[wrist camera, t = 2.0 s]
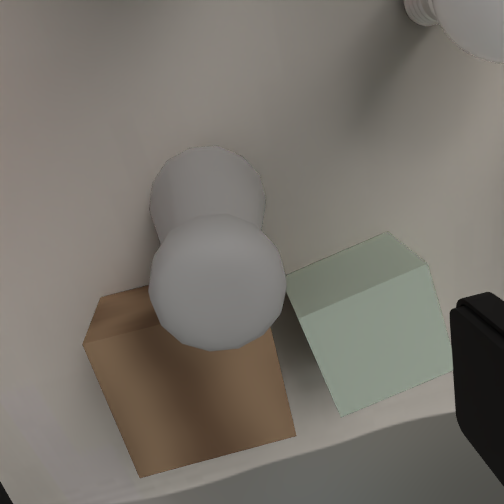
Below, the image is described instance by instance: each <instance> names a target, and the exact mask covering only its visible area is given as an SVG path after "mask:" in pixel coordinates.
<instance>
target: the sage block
mask: <svg viewBox="0 0 504 504" xmlns="http://www.w3.org/2000/svg"><path fill="white" fill-rule="evenodd" d="M286 284H287V288H286V292H287V295H288V297H289V299H290V302H291V304H292V306H293V309H294V311H295V313H296V315H297V318H298V320H299V322H300V325H301V327H302V329H303V332H304V334H305V336H306V339H307V341H308V343H309V345H310V348H311V350H312V352H313V355H314V357H315V359H316V362H317V364H318V366H319V368H320V371H321V373H322V375H323V378H324V380H325V382H326V384H327V387H328V389H329V391H330V394H331V396H332V398H333V400H334V403H335V405H336V407H337V410H338V412H339V414H340V416H341V417H344V416H346V415H348V414H351V413H353V412H356V411H358V410H360V409H363V408H365V407H368V406H370V405H372V404H375V403H377V402H379V401H382V400H384V399H387V398H389V397H391V396H394V395H396V394H399V393H401V392H403V391H406V390H408V389H410V388H413V387H415V386H418V385H420V384H422V383H425V382H427V381H429V380H432V379H434V378H437V377H439V376H441V375H444V374H446V373H449V372H451V371H453V360H452V348H451V344H450V340H449V337H448V333H447V330H446V326H445V323H444V319H443V316H442V312H441V309H440V305H439V302H438V298H437V295H436V291H435V288H434V284H433V281H432V277H431V273H430V270H429V266H428V263H427V262H425V261H424V260H423V259H422V258H420V257H419V256H418V255H417V254H415V253H414V252H413V251H412V250H410V249H409V248H408V247H407V246H406V245H404V244H403V243H402V242H401V241H399V240H398V239H397V238H396V237H394V236H393V235H392V234H391V233H389V232H385V233H383V234H381V235H378V236H376V237H374V238H371V239H369V240H367V241H364V242H362V243H360V244H357V245H355V246H353V247H350V248H348V249H346V250H344V251H341V252H339V253H337V254H334V255H332V256H330V257H327V258H325V259H323V260H320V261H318V262H316V263H313V264H311V265H309V266H307V267H304V268H302V269H300V270H297V271H295V272H293V273H290V274H288V275H286Z"/></svg>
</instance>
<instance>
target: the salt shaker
mask: <svg viewBox="0 0 504 504" xmlns="http://www.w3.org/2000/svg"><path fill="white" fill-rule="evenodd" d="M265 205H266V197H265V193H264V189H263V185H262V181H261V177H260V175H259V174H258V173H257V172H256V170H255V169H254V168H253V167H252V166H251V165H250V164H249V163H248V162H247V161H246V160H245V159H244V158H243V157H242V156H241V155H238V154H236V153H234V152H231V151H229V150H227V149H224V148H222V147H220V146H206V147H194V148H189V149H187V150H185V151H184V152H182V153H180V154H178V155H177V156H175V157H173V158H171V159H169V160H168V161H166V163H165V164H164V166H163V167H162V169H161V170H160V172H159V174H158V175H157V177H156V178H155V180H154V181H153V183H152V188H151V198H150V207H149V210H150V213H151V216H152V219H153V222H154V225H155V228H156V231H157V235H158V238H159V241H160V244H161V246H160V247H159V249H158V250H157V252H156V253H155V255H154V257H153V261H152V266H151V274H150V282H149V290H148V292H149V296H150V300H151V303H152V305H153V307H154V310H155V312H156V314H157V317H158V319H159V321H160V324H161V326H162V327H164V328H165V329H166V330H167V331H168V332H169V333H170V334H172V335H173V336H174V337H175V338H176V339H177V340H178V341H180V342H181V343H182V344H185V345H188V346H192V347H196V348H199V349H203V350H207V351H219V350H229V349H239V348H241V347H242V346H244V345H246V344H248V343H250V342H251V341H253V340H255V339H257V338H259V337H261V336H262V335H264V334H265V332H266V331H267V330H268V329H269V328H270V326H271V325H272V324H273V323H274V321H275V320H276V319H277V318H278V316H279V315H280V314H281V311H282V307H283V302H284V297H285V292H286V288H287V284H286V275H285V271H284V268H283V264H282V260H281V256H280V252H279V250H278V249H277V247H276V246H275V244H274V243H273V242H272V241H271V240H270V239H269V238H268V237H267V236H266V235H265V234H264V233H263V232H262V225H263V218H264V211H265Z"/></svg>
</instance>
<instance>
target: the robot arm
mask: <svg viewBox="0 0 504 504" xmlns="http://www.w3.org/2000/svg"><path fill="white" fill-rule="evenodd" d="M450 330H451V345H452V360H453V376H454V391H455V406H456V417H457V421H458V424H459V426H460V428H461V430H462V432H463V434H464V435H465V436H466V438H467V439H468V440H469V442H470V443H471V444H472V446H473V447H474V448H475V449H476V451H477V452H478V453H479V455H480V456H481V457H482V459H483V460H484V461H485V463H486V464H487V465H488V467H489V468H490V469H491V470H492V472H493V473H494V474H495V476H496V477H497V478H498V480H499V481H500V482H501V483H502V485H503V486H504V301H502V300H501V299H500V298H498V297H497V296H496V295H494V294H492V293H490V292H485V293H481V294H477V295H473V296H470V297H466V298H462V299H460V300H458V302H457V305H456V308H454V309H452V310H451V311H450ZM0 504H13V503H12V501H11V499H10V498H9V496H8V494H7V492H6V491H5V489H4V487H3V485H2V484H1V482H0Z"/></svg>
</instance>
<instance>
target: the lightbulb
mask: <svg viewBox="0 0 504 504" xmlns="http://www.w3.org/2000/svg"><path fill="white" fill-rule="evenodd" d="M404 6H405V10H406V12H407V14H408V16H409V17H410V18H411V20H412V21H414V22H415V23H417V24H419V25H422V26H432V25H436V24H440V26H441V27H442V29H443V31H444V32H445V34H446V35H447V36H448V37H449V39H450V40H451V41H452V42H453V43H454V44H455V45H457V46H458V47H459V48H460V49H462V50H463V51H465V52H466V53H468V54H470V55H472V56H474V57H476V58H479V59H482V60H485V61H489V62H493V63H501V64H504V0H404Z"/></svg>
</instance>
